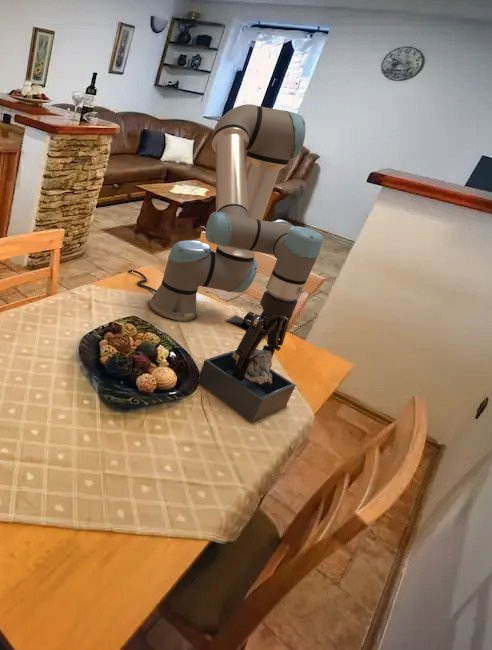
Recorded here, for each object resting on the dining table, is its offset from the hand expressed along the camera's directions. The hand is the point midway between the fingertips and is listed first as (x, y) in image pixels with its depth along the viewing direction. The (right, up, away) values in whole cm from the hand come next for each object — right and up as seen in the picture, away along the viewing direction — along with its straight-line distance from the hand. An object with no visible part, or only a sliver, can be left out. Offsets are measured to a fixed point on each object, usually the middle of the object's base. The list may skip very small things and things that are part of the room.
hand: (249, 373), depth 126 cm
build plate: (+14, +11, +39) cm, 42 cm away
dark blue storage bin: (-1, -6, +3) cm, 6 cm away
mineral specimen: (0, 0, 0) cm, 0 cm away
